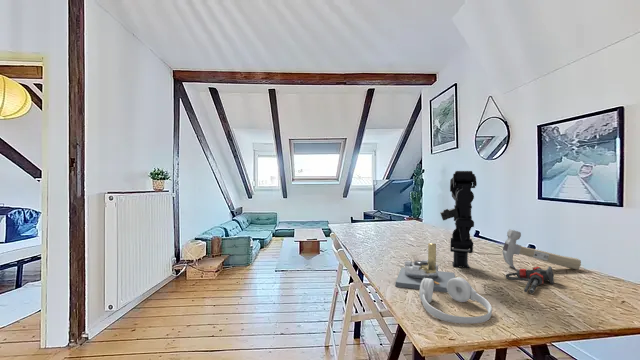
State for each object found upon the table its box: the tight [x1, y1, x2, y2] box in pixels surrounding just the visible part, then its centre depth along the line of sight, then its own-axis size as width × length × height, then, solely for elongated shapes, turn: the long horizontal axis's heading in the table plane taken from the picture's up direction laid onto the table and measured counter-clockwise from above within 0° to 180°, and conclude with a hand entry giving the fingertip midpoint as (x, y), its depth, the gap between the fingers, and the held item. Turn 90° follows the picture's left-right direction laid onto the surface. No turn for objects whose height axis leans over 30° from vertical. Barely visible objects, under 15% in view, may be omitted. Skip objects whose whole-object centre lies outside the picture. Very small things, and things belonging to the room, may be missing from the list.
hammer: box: [502, 229, 582, 271], centre depth 138 cm, size 16×5×30 cm
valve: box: [505, 266, 555, 295], centre depth 118 cm, size 6×26×15 cm
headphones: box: [418, 276, 493, 324], centre depth 95 cm, size 7×18×20 cm
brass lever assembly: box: [404, 242, 439, 279], centre depth 121 cm, size 15×12×13 cm
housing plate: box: [395, 267, 456, 293], centre depth 120 cm, size 20×20×2 cm
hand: (462, 241), depth 128 cm, fingers closed
